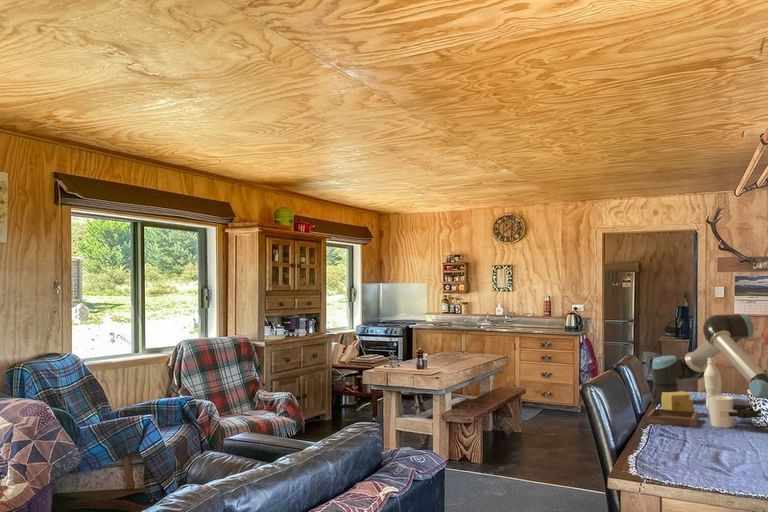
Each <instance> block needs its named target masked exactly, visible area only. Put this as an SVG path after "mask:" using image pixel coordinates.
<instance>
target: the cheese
mask: <svg viewBox="0 0 768 512" xmlns="http://www.w3.org/2000/svg"><path fill="white" fill-rule="evenodd" d="M661 402H662V404H661V409H665V410H679V411H693V412H696V410H695V409H694V400H693V398H692V396H691V395H690V394H689V393H688V392H685V391H682V390H680V391H679V392H662V396H661Z"/></svg>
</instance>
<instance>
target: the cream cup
mask: <svg viewBox="0 0 768 512" xmlns="http://www.w3.org/2000/svg"><path fill="white" fill-rule="evenodd" d="M706 399H707V400H708V408H709V410H708V414H709V421H710V422H709V423H710V426H711V425H712V427H713V426H714V428H718V427H722V428H721V429H730V428H729V427H732V428H733V427H734V417H719V410H733V404H734V397H733V396H727V395H721V396H707V395H706Z"/></svg>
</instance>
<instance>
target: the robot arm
mask: <svg viewBox="0 0 768 512" xmlns="http://www.w3.org/2000/svg"><path fill="white" fill-rule="evenodd" d="M702 331H703V332H702V333H703V336H704V337H705V339H706V340H705V341H703V342H702V343H701V344H700V345H699V346H698V347H697V348H696V349H695V350H694V351H690V352H687V353H686V354H685V355H683V356H682V357H677V356H675V355H661V356H657V357H654V358H653V359H652V366H651V369H652V379H653V381H652V382H653V388H652V391H651V392H652V393H651V395H650V401H651V403H655V404H661V403H662V402H661V396H662V392H679V391H681V390H680V388H679V381H698V380H702V379H704V372H705V370H706V368H707V366H708V363H707V362H708V358H716V357H717V356H719V355H720V354H722V355H723V356H724V358H726V359H727V360H728V361H729V363H730V364H731V365H732V366H733V367H734V369H736V370H737V372H738V373H739V374H740V375H741V376H742V377H743V378H744V379H745V381H746V382H748V384H749V385H748V389H749V391H750V394H751V396H752V397H754V398H756V399H764V398H768V374H767V373H766V372H765V371H764V370H763V369H762V368H761V367H760V366H759V365H758V364H757V363H756V362H755V361H754V360H753V358H752V357H751V356H749V354H748V353H746V351H745V350H744V349H743V348H742V347H741V346H740V345H739V344H738V343H739V342H740V341H741V340H744V339H745V340H747V339H751V338H752V337H754V336H753V335H754V334H755V325H754V322H753V320H752V319H751V318H750V317H749V315H747V314H744V313H735V314H716V315H714V314H713V315H712V316H710V317H708V318H707V319H705V321H704V323H703V326H702ZM750 405H751V404H736V403H733V410H719V417H733V418H739V419H743V420H744V419H754V418H759V417H761V411H754V410H753V408H752V407H750Z"/></svg>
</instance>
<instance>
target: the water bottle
mask: <svg viewBox="0 0 768 512" xmlns="http://www.w3.org/2000/svg"><path fill="white" fill-rule="evenodd" d="M715 358H716V357H715ZM715 358H708V362H707V363H708V364H707V368H706V370H705V372H704V378H703V379H704V388H705V393H706V397H707V396H722V378H721V377H722V376H721V372H720V370H719V369H718V367H717V365H716V359H715ZM705 407H706V409H707V411H709V408H708V400H707V398H706V401H705Z"/></svg>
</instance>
